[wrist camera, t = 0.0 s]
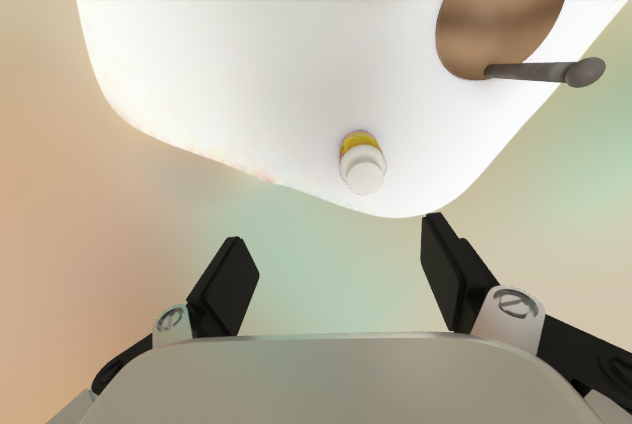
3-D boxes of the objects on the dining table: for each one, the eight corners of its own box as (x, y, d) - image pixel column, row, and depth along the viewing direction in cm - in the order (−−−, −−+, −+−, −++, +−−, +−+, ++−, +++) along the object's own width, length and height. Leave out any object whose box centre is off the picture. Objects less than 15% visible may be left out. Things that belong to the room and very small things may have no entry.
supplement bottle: (337, 132, 39) (336, 157, 28) (377, 127, 38) (392, 150, 27) (341, 168, 42) (341, 203, 31) (377, 164, 41) (390, 199, 30)
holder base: (439, -41, 27) (547, -158, 13) (579, -85, 24) (907, -293, 10) (432, 90, 34) (497, 106, 20) (539, 67, 31) (699, 67, 17)
